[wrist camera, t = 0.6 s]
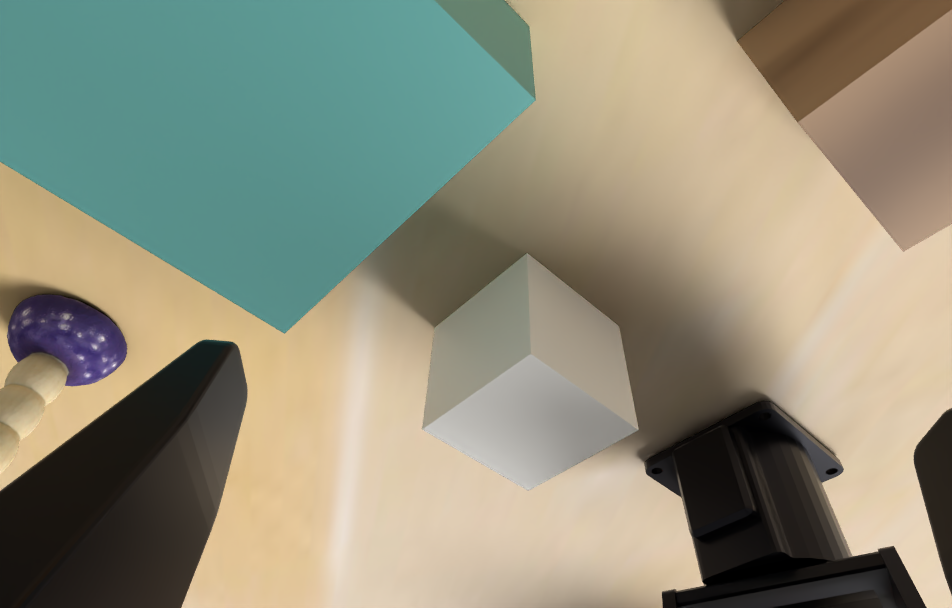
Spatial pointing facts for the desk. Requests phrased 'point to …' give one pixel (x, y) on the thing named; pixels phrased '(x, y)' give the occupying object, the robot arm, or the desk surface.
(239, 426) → the robot arm
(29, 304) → the toy lamp
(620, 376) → the grey cube
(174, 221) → the teal base block
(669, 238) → the desk surface
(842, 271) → the desk surface
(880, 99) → the walnut cube
